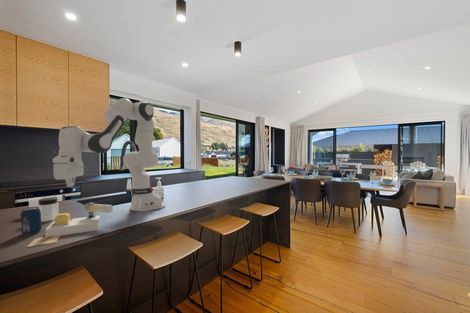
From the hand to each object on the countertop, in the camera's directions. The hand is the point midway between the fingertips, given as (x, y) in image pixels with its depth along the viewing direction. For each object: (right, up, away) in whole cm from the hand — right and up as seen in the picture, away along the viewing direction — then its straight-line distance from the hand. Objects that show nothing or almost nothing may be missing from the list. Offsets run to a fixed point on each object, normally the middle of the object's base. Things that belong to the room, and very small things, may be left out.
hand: (70, 186), depth 102 cm
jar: (-27, -22, +17) cm, 39 cm away
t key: (+9, -18, +8) cm, 21 cm away
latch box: (+1, -22, +2) cm, 22 cm away
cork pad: (-3, -23, -11) cm, 25 cm away
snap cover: (-4, -18, 0) cm, 19 cm away
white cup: (-42, -21, +27) cm, 54 cm away
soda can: (-18, -22, -2) cm, 29 cm away
